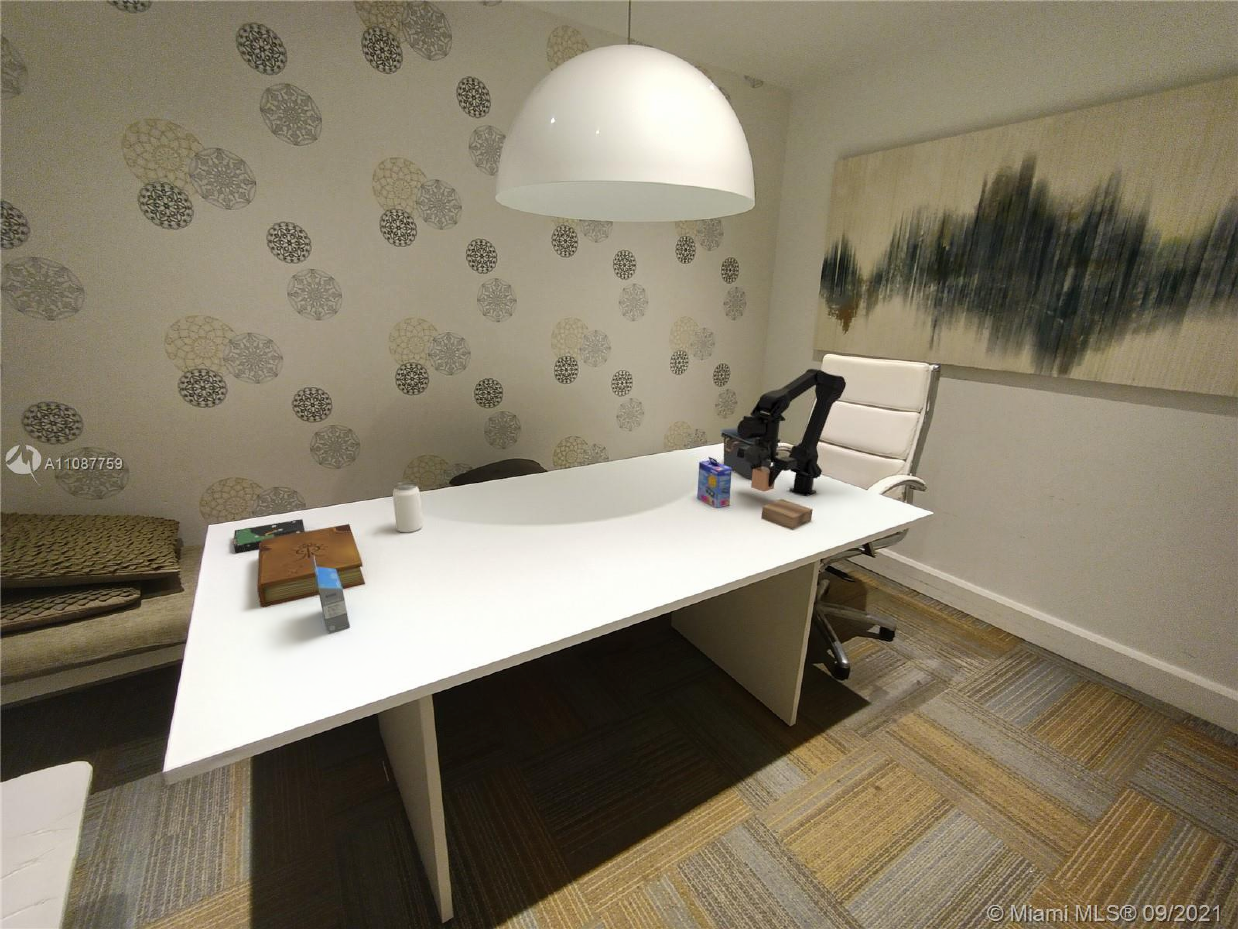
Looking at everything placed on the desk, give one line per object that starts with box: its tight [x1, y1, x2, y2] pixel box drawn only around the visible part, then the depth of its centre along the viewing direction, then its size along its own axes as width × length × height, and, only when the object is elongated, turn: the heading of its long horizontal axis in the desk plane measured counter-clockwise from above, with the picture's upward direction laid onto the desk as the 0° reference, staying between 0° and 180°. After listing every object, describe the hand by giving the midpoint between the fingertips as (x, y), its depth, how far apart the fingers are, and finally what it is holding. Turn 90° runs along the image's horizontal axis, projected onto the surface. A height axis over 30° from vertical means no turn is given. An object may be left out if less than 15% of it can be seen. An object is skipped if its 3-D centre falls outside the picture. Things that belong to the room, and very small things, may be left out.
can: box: [392, 481, 423, 534], centre depth 140 cm, size 6×6×12 cm
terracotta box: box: [750, 467, 776, 493], centre depth 167 cm, size 5×5×6 cm
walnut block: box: [761, 499, 813, 530], centre depth 154 cm, size 10×10×4 cm
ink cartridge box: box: [696, 456, 733, 509], centre depth 164 cm, size 10×6×14 cm, turn 30°
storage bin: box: [720, 427, 779, 480], centre depth 194 cm, size 21×16×14 cm
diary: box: [256, 523, 366, 608], centre depth 118 cm, size 23×19×6 cm
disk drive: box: [233, 518, 306, 555], centre depth 133 cm, size 10×3×15 cm
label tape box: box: [314, 555, 351, 634], centre depth 100 cm, size 9×4×12 cm, turn 33°
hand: (762, 484), depth 167 cm, fingers closed on terracotta box, 5 cm apart
